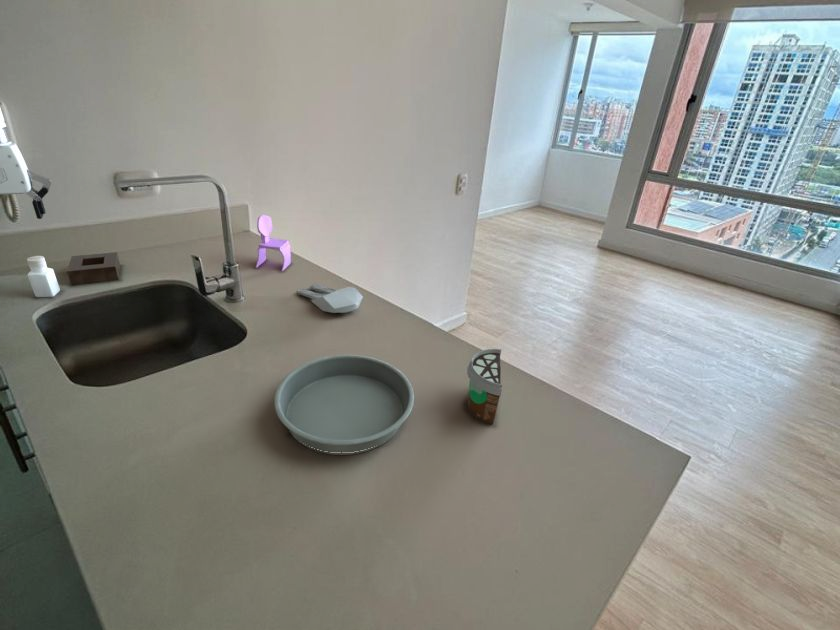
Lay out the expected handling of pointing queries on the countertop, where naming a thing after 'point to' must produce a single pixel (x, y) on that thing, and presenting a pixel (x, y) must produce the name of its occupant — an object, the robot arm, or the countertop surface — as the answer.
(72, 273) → the holder
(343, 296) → the turret
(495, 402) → the food container
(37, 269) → the pepper shaker
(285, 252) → the toy chair
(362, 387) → the cake pan
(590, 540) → the countertop surface
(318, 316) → the countertop surface
